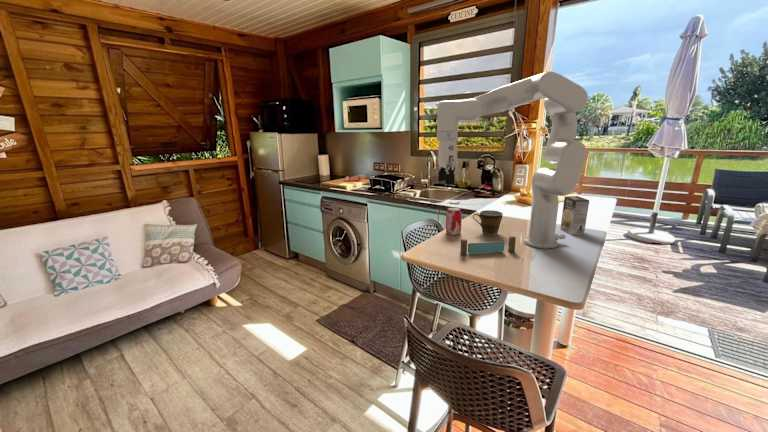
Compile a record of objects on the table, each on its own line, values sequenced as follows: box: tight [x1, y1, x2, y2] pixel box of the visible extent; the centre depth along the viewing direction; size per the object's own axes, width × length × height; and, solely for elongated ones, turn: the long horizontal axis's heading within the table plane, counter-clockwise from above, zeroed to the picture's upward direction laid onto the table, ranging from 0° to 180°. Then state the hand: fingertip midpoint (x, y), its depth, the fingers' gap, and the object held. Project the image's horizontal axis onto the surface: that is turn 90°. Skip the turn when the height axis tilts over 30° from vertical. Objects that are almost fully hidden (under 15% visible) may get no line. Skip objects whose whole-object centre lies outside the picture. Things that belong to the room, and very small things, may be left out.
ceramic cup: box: [472, 209, 504, 237], centre depth 141 cm, size 13×10×10 cm
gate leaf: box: [467, 240, 505, 255], centre depth 118 cm, size 14×2×4 cm, turn 96°
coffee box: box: [559, 195, 590, 236], centre depth 139 cm, size 9×6×16 cm
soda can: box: [445, 206, 462, 236], centre depth 142 cm, size 7×7×12 cm
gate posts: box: [459, 235, 517, 257], centre depth 118 cm, size 22×2×6 cm, turn 96°
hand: (445, 182), depth 116 cm, fingers open, 9 cm apart
